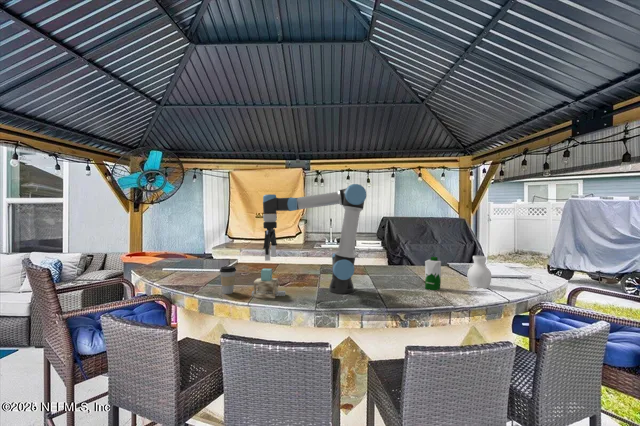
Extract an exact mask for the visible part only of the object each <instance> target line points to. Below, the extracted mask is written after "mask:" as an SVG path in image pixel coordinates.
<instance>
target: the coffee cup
mask: <svg viewBox="0 0 640 426" xmlns="http://www.w3.org/2000/svg"><path fill="white" fill-rule="evenodd" d="M236 271H237V268H236V267H235V266H233V265H228V266H227V265H226V266H221V267H220V269H219V273H220V282H221V290H222V294H224V295H230V294H234V288H235V283H236V282H235V280H236Z"/></svg>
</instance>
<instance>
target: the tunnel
mask: <svg viewBox="0 0 640 426" xmlns="http://www.w3.org/2000/svg"><path fill="white" fill-rule="evenodd" d="M253 291H254V296H253V298H258V299H259V298H261V299H275V298H276V296H275V291H279V278H278V277H277V278H273V277H272V279H271V280H270V281H261V277H258V278H256V279H255V280H254V281H253ZM256 291H273V294H256Z"/></svg>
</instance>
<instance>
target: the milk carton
mask: <svg viewBox="0 0 640 426" xmlns="http://www.w3.org/2000/svg"><path fill="white" fill-rule="evenodd" d="M424 267H425V268H424V269H425V270H424V271H425V272H424V274H425V275H424V277H425V278H424V280H425V281H424V282H425V283H424V284H425V285H424V289H425V290H429V289H430V290H431V291H434V290H437V291H439V290H440V289H441V283H442V279H441V276H442V275H441V274H442V268H441V267H442V260H438V257H436V256H431V257H430V259H427V260H425V261H424ZM438 289H439V290H438Z"/></svg>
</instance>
